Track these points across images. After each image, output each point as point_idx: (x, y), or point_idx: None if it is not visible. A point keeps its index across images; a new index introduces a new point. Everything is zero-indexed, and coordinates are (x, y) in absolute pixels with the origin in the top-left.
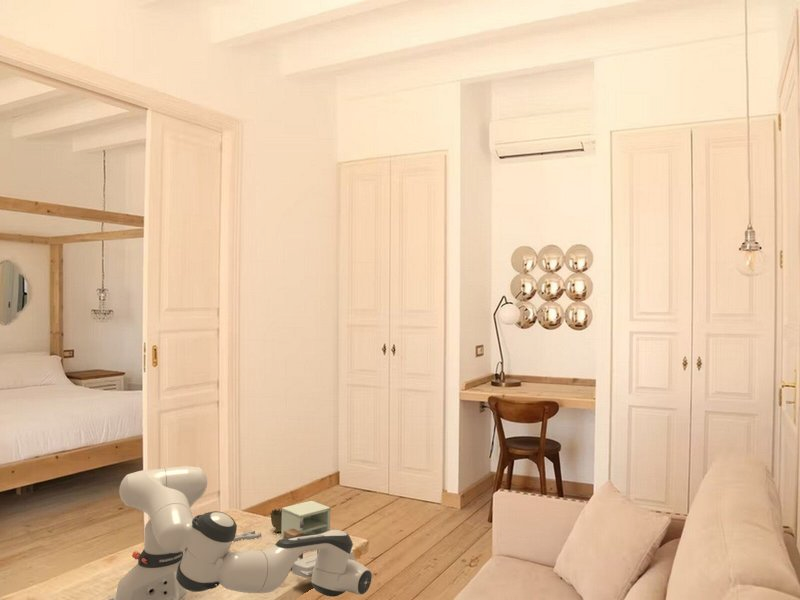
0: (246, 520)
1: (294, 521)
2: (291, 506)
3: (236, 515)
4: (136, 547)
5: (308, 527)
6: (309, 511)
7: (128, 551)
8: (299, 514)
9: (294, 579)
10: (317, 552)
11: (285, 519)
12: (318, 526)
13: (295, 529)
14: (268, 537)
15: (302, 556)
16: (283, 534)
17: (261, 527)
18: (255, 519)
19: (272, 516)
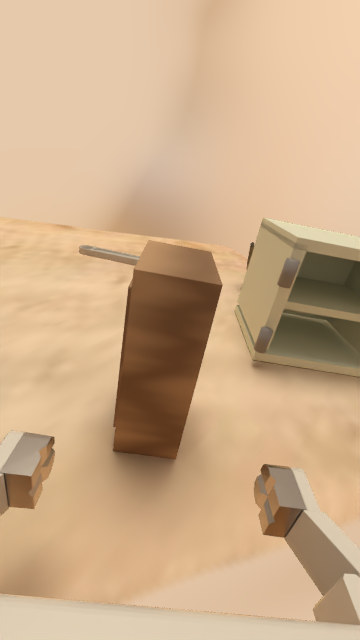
0: (227, 258)
1: (274, 260)
2: (294, 224)
3: (223, 250)
4: (33, 221)
5: (317, 302)
6: (346, 244)
7: (12, 219)
8: (298, 235)
9: (2, 555)
10: (259, 478)
11: (258, 252)
12: (357, 314)
13: (212, 257)
14: (222, 291)
15: (183, 414)
16: (242, 294)
17: (235, 273)
18: (242, 263)
19: (250, 251)
